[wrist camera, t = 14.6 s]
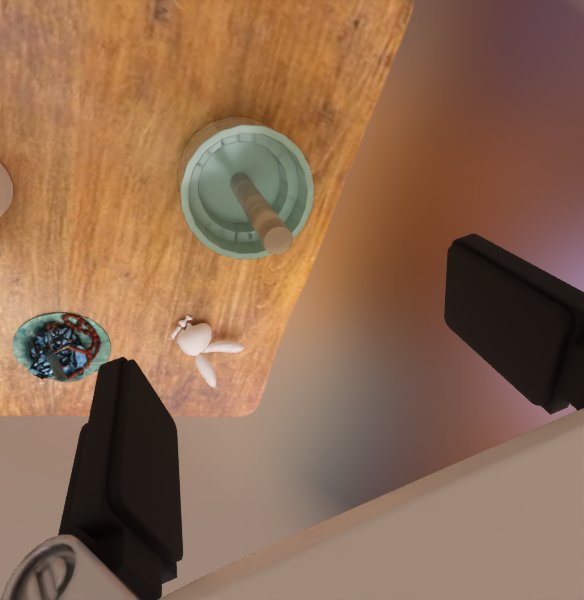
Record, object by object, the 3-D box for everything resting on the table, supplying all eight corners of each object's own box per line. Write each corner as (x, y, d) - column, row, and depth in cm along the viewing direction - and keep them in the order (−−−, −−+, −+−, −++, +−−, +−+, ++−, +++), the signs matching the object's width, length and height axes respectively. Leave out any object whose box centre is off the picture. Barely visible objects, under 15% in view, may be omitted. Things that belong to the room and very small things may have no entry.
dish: (-8, 333, 34) (56, 384, 34) (61, 288, 38) (118, 333, 38) (10, 366, 40) (63, 409, 40) (68, 324, 45) (116, 363, 44)
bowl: (157, 135, 32) (157, 148, 27) (279, 101, 33) (300, 108, 28) (202, 248, 38) (208, 275, 33) (302, 216, 40) (322, 237, 35)
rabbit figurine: (199, 300, 41) (251, 347, 42) (194, 306, 45) (242, 351, 46) (160, 338, 39) (216, 388, 40) (157, 343, 42) (209, 388, 43)
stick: (227, 176, 34) (260, 232, 23) (247, 170, 35) (289, 222, 23) (233, 196, 36) (267, 259, 24) (253, 190, 36) (296, 249, 25)
